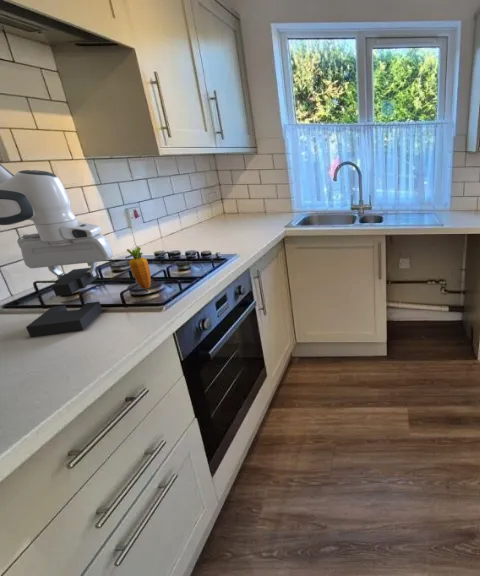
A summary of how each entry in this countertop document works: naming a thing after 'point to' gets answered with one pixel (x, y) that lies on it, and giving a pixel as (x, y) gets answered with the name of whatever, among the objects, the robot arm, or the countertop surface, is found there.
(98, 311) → the notch pad
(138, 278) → the carrot
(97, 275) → the pad
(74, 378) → the countertop surface
